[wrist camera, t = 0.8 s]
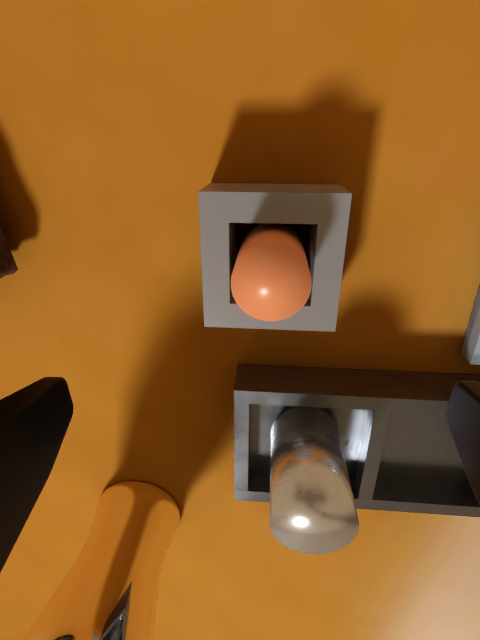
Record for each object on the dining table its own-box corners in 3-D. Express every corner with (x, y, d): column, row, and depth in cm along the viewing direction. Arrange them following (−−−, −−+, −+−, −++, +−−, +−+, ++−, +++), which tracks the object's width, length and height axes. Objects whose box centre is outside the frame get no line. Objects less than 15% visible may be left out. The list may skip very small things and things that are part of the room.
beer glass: (105, 462, 27) (-69, 795, 13) (199, 494, 27) (125, 844, 14) (86, 523, 30) (-72, 845, 16) (171, 550, 30) (88, 883, 17)
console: (339, 184, 18) (351, 193, 15) (326, 304, 20) (335, 331, 17) (210, 183, 18) (198, 191, 15) (214, 300, 21) (204, 326, 18)
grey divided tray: (516, 376, 21) (546, 406, 19) (477, 482, 25) (498, 518, 22) (238, 363, 22) (233, 390, 20) (238, 466, 26) (234, 499, 23)
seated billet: (342, 408, 22) (364, 498, 16) (334, 461, 24) (352, 557, 18) (272, 404, 22) (271, 491, 17) (269, 456, 24) (268, 550, 18)
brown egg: (306, 223, 17) (315, 246, 14) (302, 286, 18) (308, 322, 15) (239, 222, 17) (230, 244, 14) (239, 284, 19) (231, 320, 15)
